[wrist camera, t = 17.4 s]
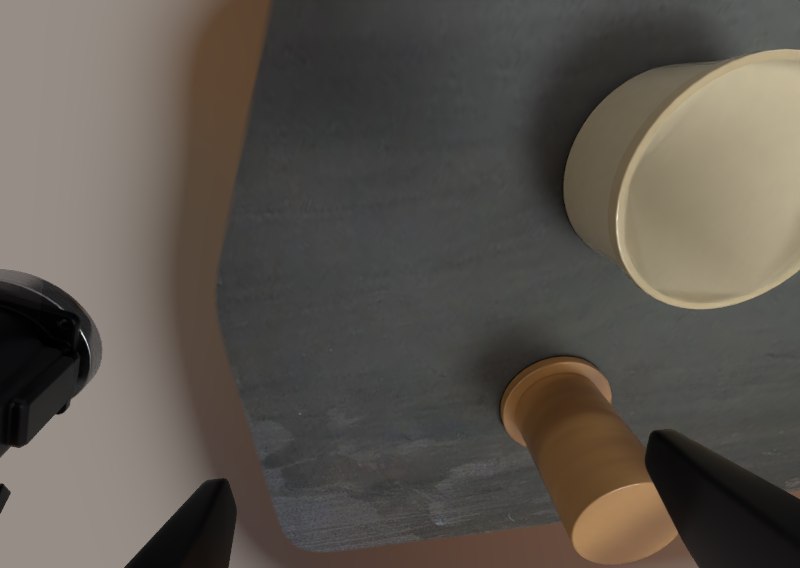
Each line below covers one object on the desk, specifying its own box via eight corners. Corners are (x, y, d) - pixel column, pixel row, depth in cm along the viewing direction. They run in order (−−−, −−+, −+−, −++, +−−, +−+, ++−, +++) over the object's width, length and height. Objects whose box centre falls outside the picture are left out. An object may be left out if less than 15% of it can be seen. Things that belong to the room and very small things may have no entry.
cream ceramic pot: (523, 229, 21) (568, 268, 16) (630, 19, 18) (723, -5, 13) (676, 287, 23) (754, 336, 19) (798, 109, 20) (929, 116, 15)
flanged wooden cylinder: (478, 418, 26) (524, 549, 18) (548, 337, 24) (631, 447, 16) (557, 457, 27) (628, 590, 20) (628, 384, 26) (735, 502, 18)
